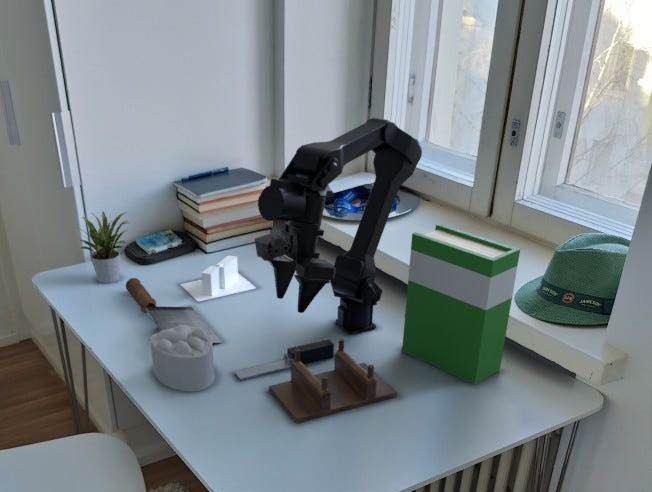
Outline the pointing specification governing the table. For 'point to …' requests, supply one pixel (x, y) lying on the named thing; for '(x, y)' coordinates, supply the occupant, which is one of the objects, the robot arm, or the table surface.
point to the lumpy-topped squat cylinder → (183, 358)
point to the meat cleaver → (166, 311)
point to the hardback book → (459, 301)
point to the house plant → (105, 249)
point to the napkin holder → (218, 281)
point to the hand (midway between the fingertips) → (289, 305)
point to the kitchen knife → (292, 359)
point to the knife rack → (330, 388)
